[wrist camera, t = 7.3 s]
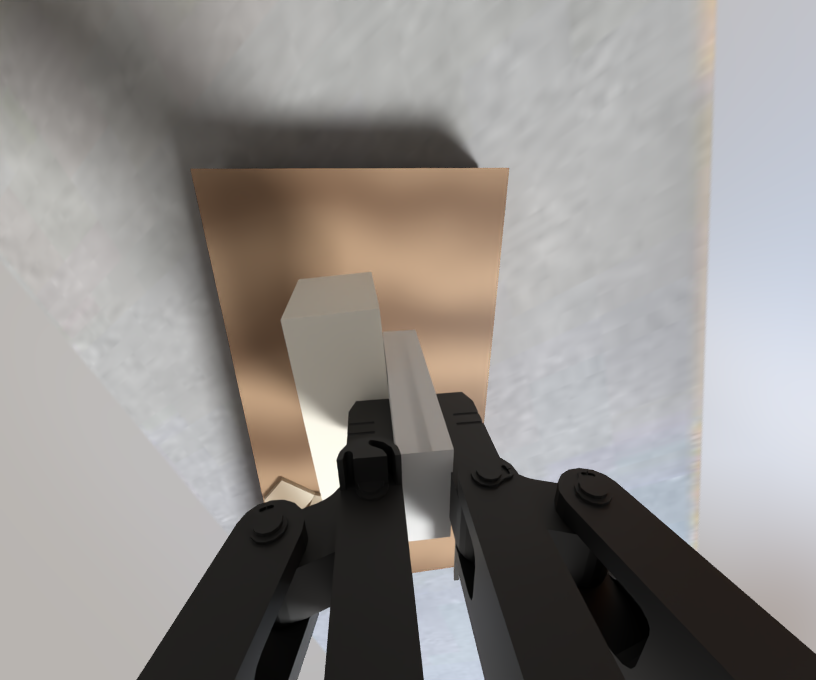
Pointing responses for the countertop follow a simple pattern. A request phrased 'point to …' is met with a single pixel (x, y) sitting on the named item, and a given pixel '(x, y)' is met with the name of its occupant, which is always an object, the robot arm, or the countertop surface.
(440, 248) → the board
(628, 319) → the countertop surface
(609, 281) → the countertop surface
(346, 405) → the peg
